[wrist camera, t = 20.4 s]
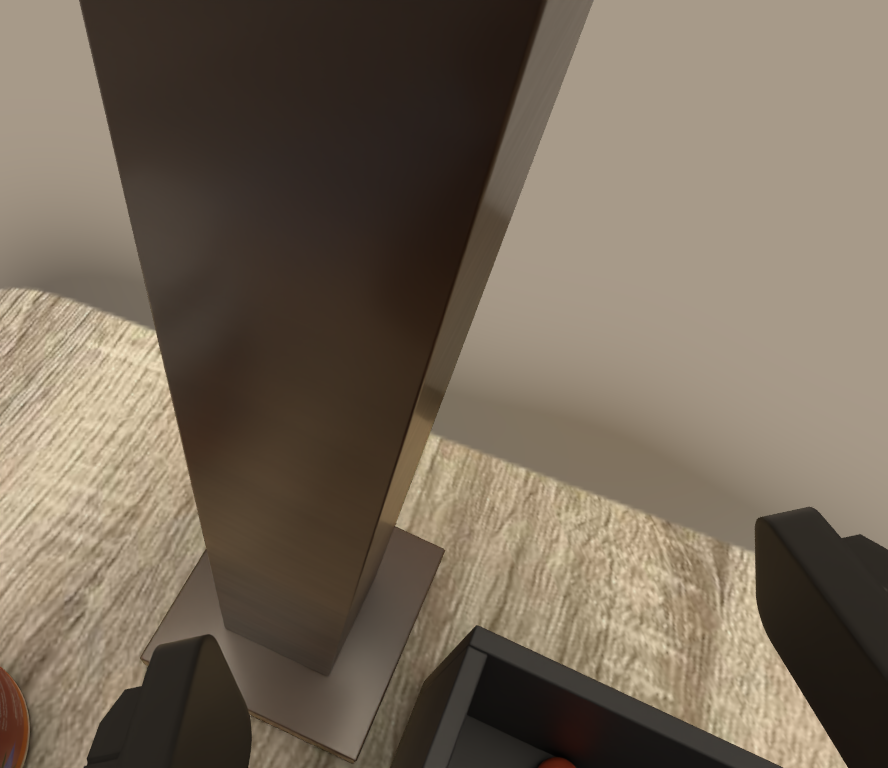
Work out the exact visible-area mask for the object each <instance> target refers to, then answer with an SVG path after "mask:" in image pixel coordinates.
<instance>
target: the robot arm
mask: <svg viewBox="0 0 888 768" xmlns="http://www.w3.org/2000/svg"><path fill="white" fill-rule="evenodd" d="M755 569H756V600H757V606H758V611H759V614H760V618H761V621H762V624H763V626H764V629H765V631H766V633H767V635H768V637H769V639H770V641H771V643H772V644H773V646H774V648H775V649H776V651H777V652H778V654H779V656H780V657H781V659H782V661H783V662H784V664H785V665H786V667H787V669H788V670H789V672H790V674H791V675H792V677H793V679H794V680H795V682H796V683H797V685H798V687H799V688H800V690H801V692H802V693H803V695H804V696H805V698H806V700H807V701H808V703H809V705H810V706H811V708H812V709H813V711H814V713H815V714H816V716H817V718H818V719H819V721H820V723H821V724H822V726H823V727H824V729H825V731H826V732H827V734H828V736H829V737H830V739H831V740H832V742H833V744H834V745H835V747H836V749H837V750H838V752H839V754H840V755H841V757H842V758H843V760H844V762H845V763H846V765H847V767H848V768H888V550H887V549H886V548H884V547H882V546H880V545H879V544H877V543H875V542H873V541H871V540H870V539H868V538H866V537H864V536H863V535H861V534H859V535H855V536H850V537H846V538H841V537H840V536H839V535H838V534H837V533H836V531H835V530H834V529H833V528H832V527H831V525H830V524H829V523H828V522H827V521H826V520H825V518H824V517H823V516H822V515H821V514H820V513H819V512H818V511H817V510H816V509H814V508H812V507H806V508H801V509H797V510H792V511H787V512H783V513H778V514H773V515H769V516H764V517H760V518H758V519H757V521H756V524H755ZM251 741H252V734H251V722H250V716H249V712H248V708H247V705H246V702H245V700H244V698H243V696H242V694H241V691H240V689H239V687H238V685H237V683H236V681H235V678H234V676H233V674H232V672H231V670H230V668H229V665H228V663H227V661H226V659H225V657H224V655H223V652H222V650H221V648H220V646H219V644H218V642H217V640H216V639H215V637H214V636H212V635H211V634H206V635H202V636H197V637H192V638H188V639H183V640H178V641H174V642H169V643H165V644H160V645H158V646H157V647H156V648H155V650H154V651H153V654H152V656H151V659H150V662H149V665H148V668H147V672H146V675H145V678H144V681H143V684H142V686H140V687H136V688H131V689H126V690H125V691H124V692H123V693H122V694H121V696H120V697H119V698H118V700H117V701H116V702H115V704H114V705H113V706H112V708H111V709H110V710H109V712H108V713H107V714H106V716H105V717H104V718H103V720H102V721H101V722H100V724H99V727H98V729H97V732H96V735H95V738H94V740H93V743H92V746H91V749H90V751H89V754H88V757H87V762H88V763H87V766H84V768H248V765H249V758H250V752H251Z"/></svg>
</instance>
